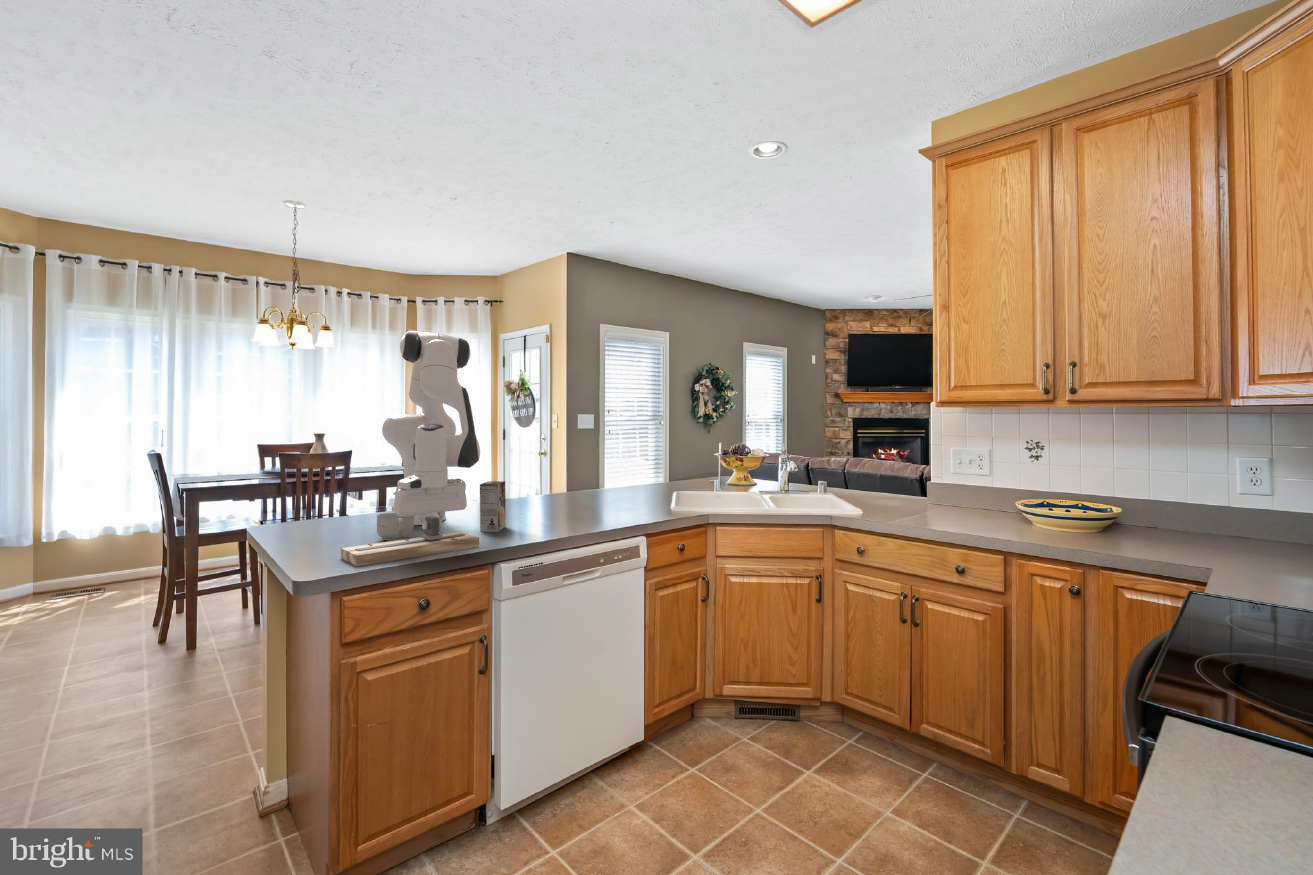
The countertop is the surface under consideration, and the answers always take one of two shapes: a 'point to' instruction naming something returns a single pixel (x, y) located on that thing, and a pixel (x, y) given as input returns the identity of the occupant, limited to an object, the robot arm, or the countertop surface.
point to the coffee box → (492, 506)
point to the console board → (407, 548)
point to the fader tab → (432, 529)
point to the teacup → (394, 526)
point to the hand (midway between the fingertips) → (431, 528)
